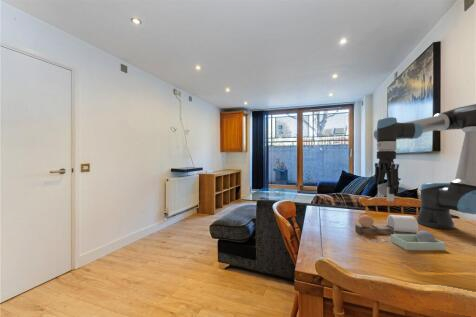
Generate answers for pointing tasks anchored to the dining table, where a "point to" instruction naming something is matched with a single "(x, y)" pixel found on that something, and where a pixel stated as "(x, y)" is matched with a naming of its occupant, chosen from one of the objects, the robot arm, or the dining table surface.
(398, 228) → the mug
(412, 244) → the trough
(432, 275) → the dining table surface
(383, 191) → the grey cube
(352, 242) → the dining table surface
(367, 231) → the rail
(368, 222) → the ball terracotta
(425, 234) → the grey ball
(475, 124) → the robot arm
